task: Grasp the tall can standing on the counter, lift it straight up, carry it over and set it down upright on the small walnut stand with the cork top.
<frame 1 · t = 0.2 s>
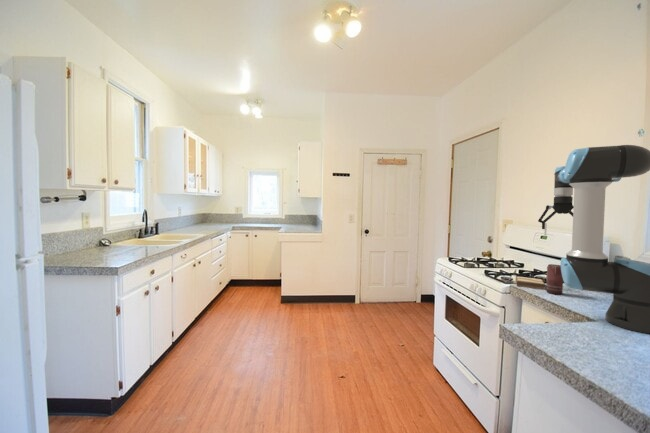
hand: (561, 236, 147), 27 cm above the countertop, fingers open, 13 cm apart
stand: (529, 285, 151), on the countertop
can: (554, 293, 137), on the countertop
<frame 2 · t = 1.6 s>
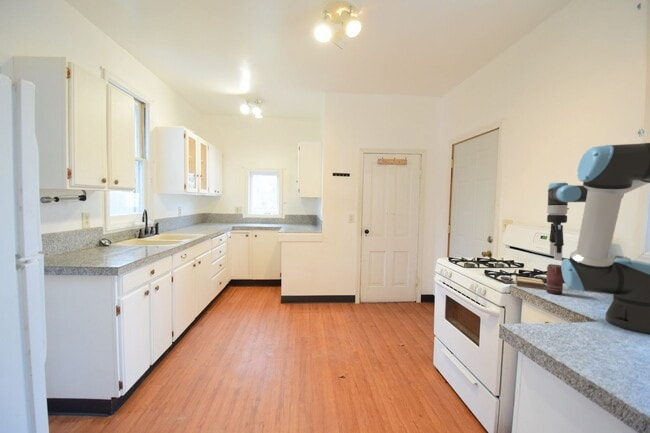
hand: (555, 257, 136), 18 cm above the countertop, fingers open, 13 cm apart
nothing on the countertop moved.
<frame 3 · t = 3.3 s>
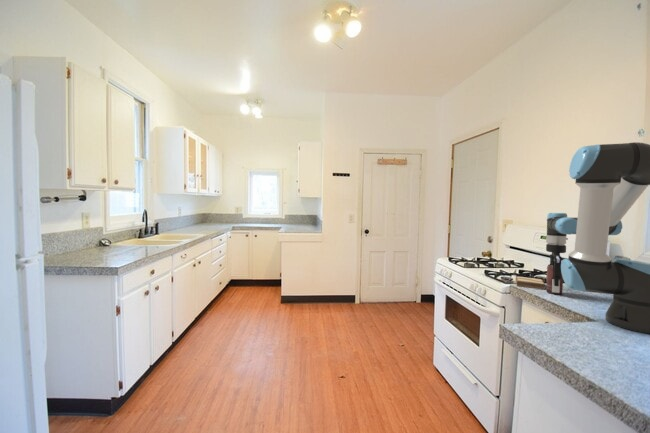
hand: (554, 290, 137), 1 cm above the countertop, fingers open, 6 cm apart
can: (554, 293, 137), on the countertop, touching gripper
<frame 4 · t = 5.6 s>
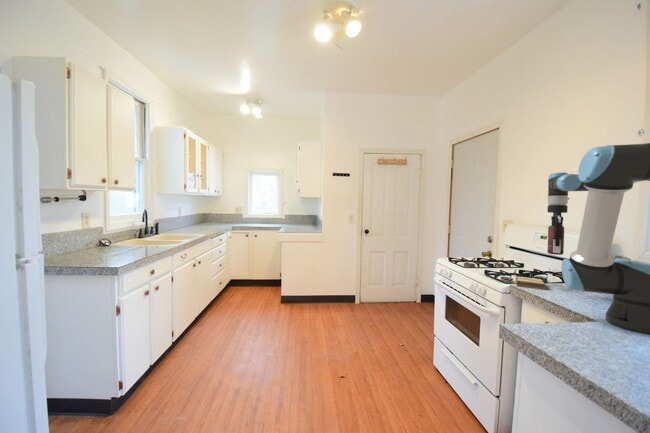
hand: (555, 252, 136), 20 cm above the countertop
can: (555, 254, 137), point 19 cm above the countertop, touching gripper, hand
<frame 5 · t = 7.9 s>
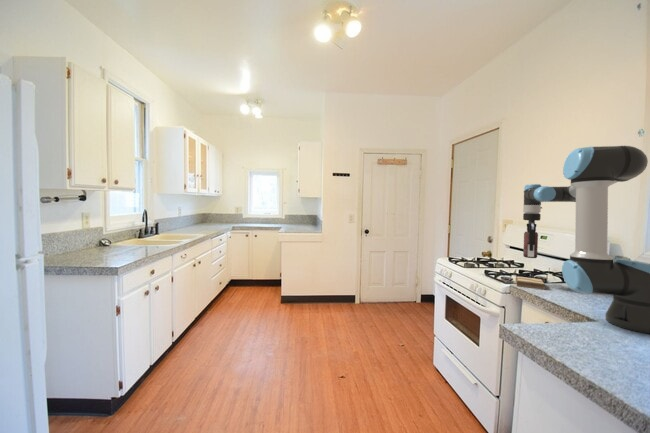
hand: (530, 255, 150), 16 cm above the countertop
can: (530, 257, 152), point 15 cm above the countertop, touching gripper, hand
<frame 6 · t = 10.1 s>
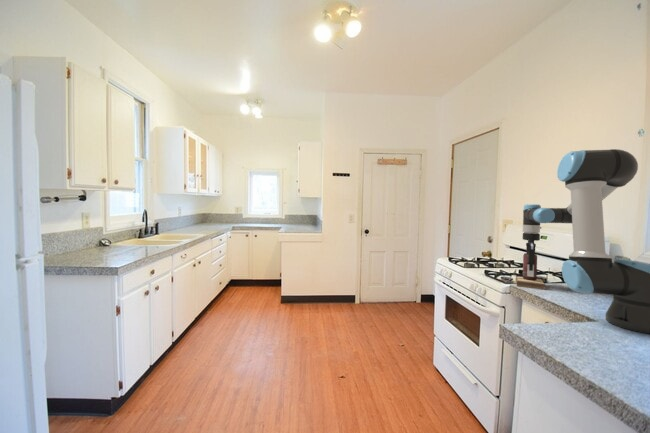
hand: (529, 275, 151), 6 cm above the countertop, fingers open, 5 cm apart
can: (529, 279, 152), point 3 cm above the countertop, touching stand
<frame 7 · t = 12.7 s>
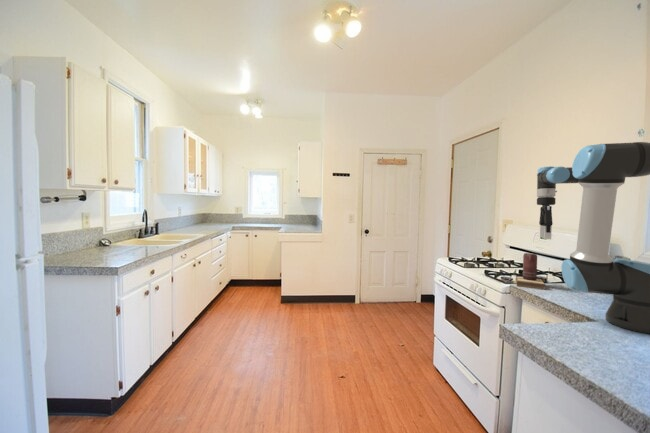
hand: (545, 238, 143), 27 cm above the countertop, fingers open, 13 cm apart
nothing on the countertop moved.
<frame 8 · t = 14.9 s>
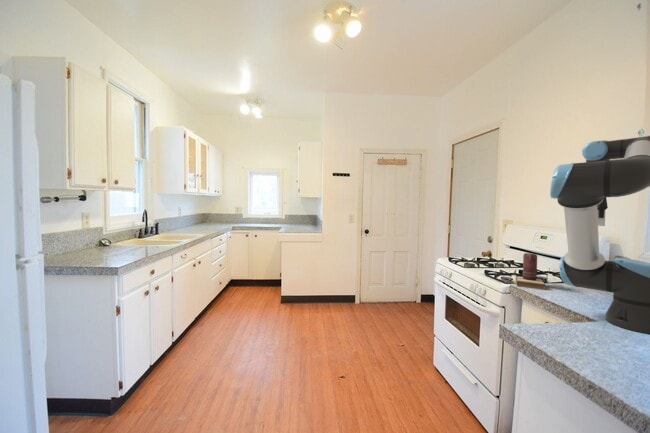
hand: (595, 225, 123), 35 cm above the countertop, fingers open, 13 cm apart
nothing on the countertop moved.
at the end: can inside the target area on the stand (1.8 cm from its centre), point 2.8 cm above the stand's base; can touching stand; can tilted 0° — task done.
